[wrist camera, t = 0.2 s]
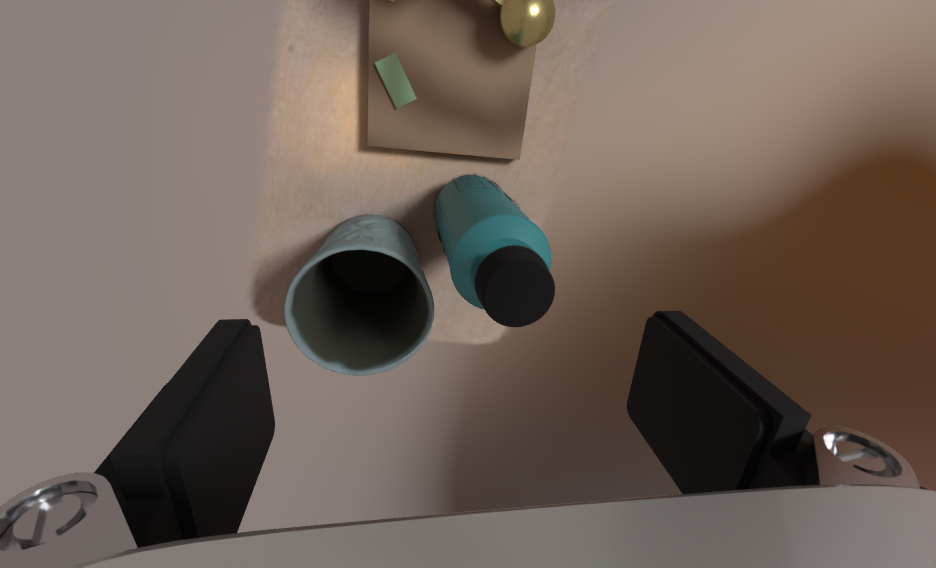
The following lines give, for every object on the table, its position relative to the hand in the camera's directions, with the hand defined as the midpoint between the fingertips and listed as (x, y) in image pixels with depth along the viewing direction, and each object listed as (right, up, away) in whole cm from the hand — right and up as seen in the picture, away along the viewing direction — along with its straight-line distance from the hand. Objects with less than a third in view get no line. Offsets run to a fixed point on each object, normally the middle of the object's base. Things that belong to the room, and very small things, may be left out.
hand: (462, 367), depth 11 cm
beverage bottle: (0, +9, +30) cm, 31 cm away
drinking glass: (-9, +5, +31) cm, 32 cm away
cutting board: (-1, +24, +23) cm, 33 cm away
